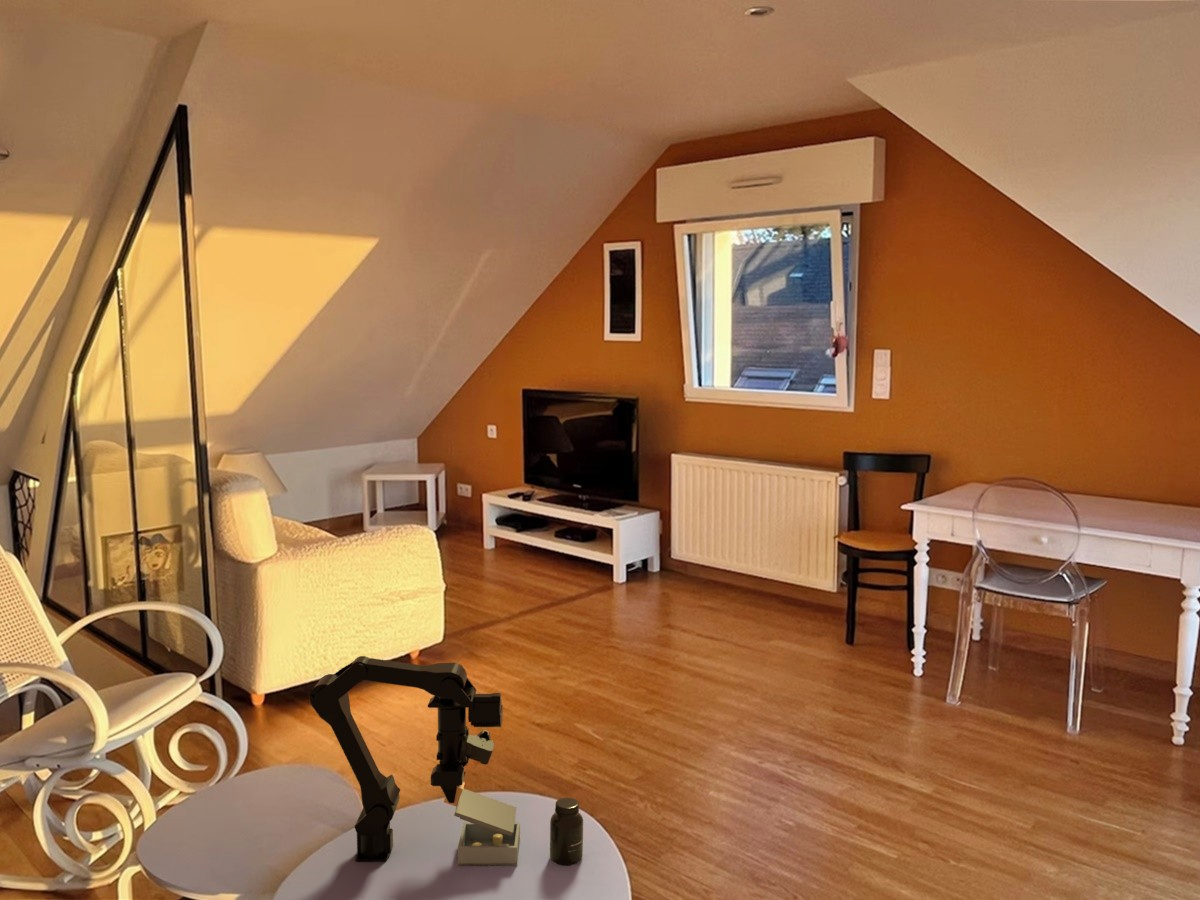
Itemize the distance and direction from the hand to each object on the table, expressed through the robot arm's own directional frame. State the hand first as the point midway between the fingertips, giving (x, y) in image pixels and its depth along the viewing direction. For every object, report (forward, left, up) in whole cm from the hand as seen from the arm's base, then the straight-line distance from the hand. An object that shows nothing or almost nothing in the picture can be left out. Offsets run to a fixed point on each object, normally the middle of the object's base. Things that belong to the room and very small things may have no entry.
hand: (452, 798), depth 195 cm
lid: (+5, 0, -3) cm, 6 cm away
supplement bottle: (+24, -2, -12) cm, 27 cm away
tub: (+8, 0, -12) cm, 14 cm away
